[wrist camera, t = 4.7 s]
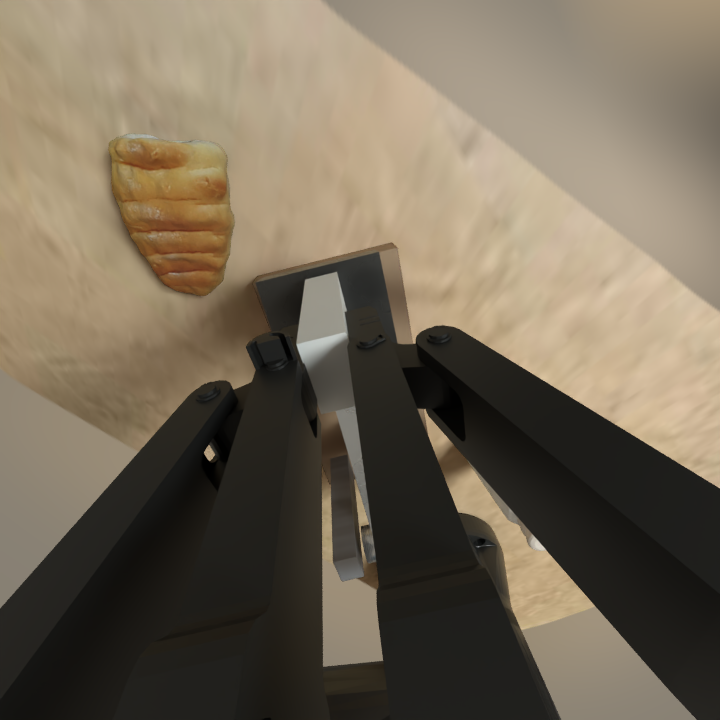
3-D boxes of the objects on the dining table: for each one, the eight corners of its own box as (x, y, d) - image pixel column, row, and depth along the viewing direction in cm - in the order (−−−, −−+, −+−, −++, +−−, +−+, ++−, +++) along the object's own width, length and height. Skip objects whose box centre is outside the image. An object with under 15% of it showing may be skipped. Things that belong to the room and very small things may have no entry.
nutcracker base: (426, 445, 34) (470, 558, 24) (329, 468, 34) (332, 590, 24) (392, 242, 24) (440, 288, 14) (257, 276, 25) (212, 344, 15)
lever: (431, 527, 26) (441, 558, 23) (354, 544, 26) (356, 578, 23) (373, 248, 18) (379, 251, 16) (266, 275, 19) (255, 282, 16)
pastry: (248, 288, 25) (236, 305, 22) (153, 288, 25) (125, 306, 21) (229, 138, 21) (210, 131, 17) (112, 133, 20) (69, 125, 17)
